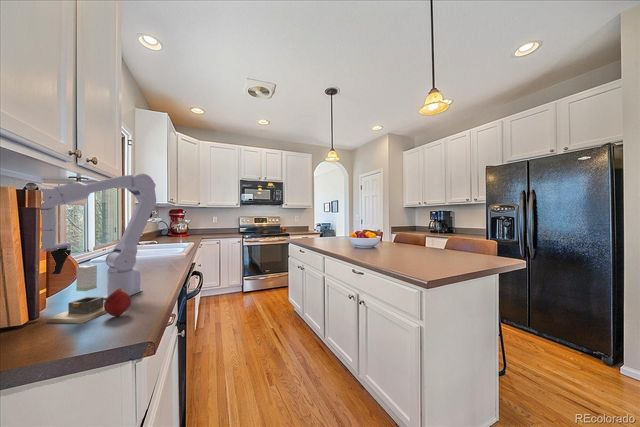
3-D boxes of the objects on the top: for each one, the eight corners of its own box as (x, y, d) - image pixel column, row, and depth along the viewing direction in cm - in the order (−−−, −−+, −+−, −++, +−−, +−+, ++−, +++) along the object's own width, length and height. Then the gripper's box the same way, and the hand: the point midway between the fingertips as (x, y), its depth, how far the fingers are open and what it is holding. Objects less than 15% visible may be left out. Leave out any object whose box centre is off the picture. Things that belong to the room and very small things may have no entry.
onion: (115, 321, 66) (115, 291, 66) (98, 319, 67) (98, 290, 67) (135, 313, 72) (135, 285, 72) (119, 311, 73) (119, 284, 73)
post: (86, 287, 73) (87, 265, 73) (96, 288, 73) (96, 265, 73) (76, 290, 70) (76, 267, 70) (86, 291, 70) (86, 267, 70)
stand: (90, 305, 78) (90, 293, 78) (120, 306, 77) (120, 293, 77) (46, 322, 66) (46, 307, 66) (81, 323, 65) (82, 308, 65)
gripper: (56, 229, 80) (56, 271, 80) (-5, 232, 65) (-6, 283, 65) (77, 229, 79) (76, 271, 79) (20, 232, 65) (19, 283, 65)
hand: (41, 276), depth 72 cm, fingers open, 7 cm apart
